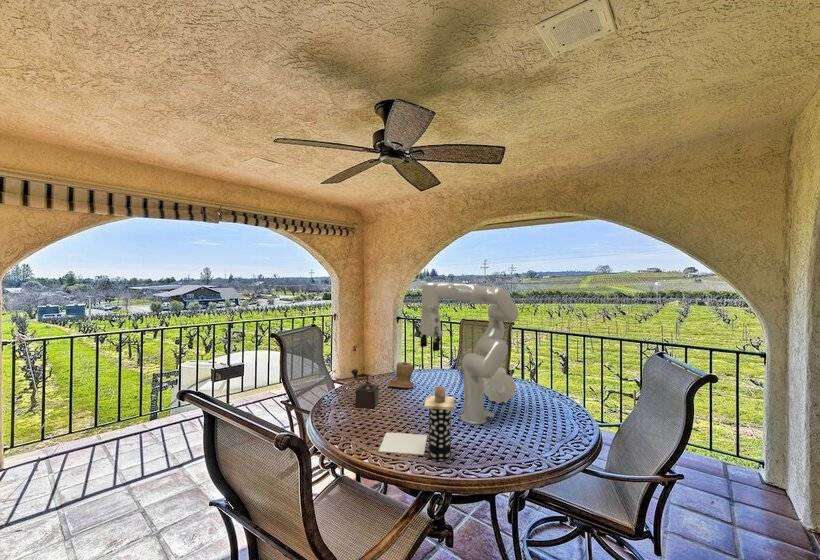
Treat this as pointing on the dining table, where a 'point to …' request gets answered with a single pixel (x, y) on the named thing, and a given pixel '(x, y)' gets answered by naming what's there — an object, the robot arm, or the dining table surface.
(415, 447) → the white flat block
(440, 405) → the wooden lid
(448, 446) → the spotted tube
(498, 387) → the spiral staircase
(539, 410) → the dining table surface
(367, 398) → the pepper mill
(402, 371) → the tan stepped piece
